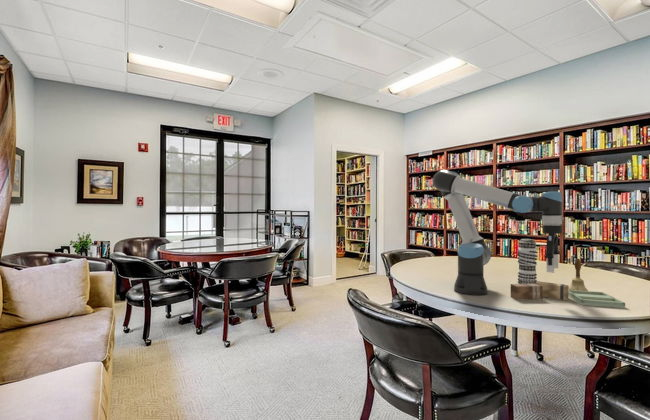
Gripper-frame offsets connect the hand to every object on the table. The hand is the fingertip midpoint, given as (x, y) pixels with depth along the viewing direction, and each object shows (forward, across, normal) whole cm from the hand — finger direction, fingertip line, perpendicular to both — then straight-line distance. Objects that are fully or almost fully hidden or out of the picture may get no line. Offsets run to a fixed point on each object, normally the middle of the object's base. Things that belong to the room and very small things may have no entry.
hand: (552, 270), depth 147 cm
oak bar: (+12, 0, 0) cm, 13 cm away
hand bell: (+13, +24, -7) cm, 28 cm away
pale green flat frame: (+13, +4, -14) cm, 19 cm away
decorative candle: (+12, +15, +13) cm, 24 cm away
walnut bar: (+12, -10, +9) cm, 18 cm away
